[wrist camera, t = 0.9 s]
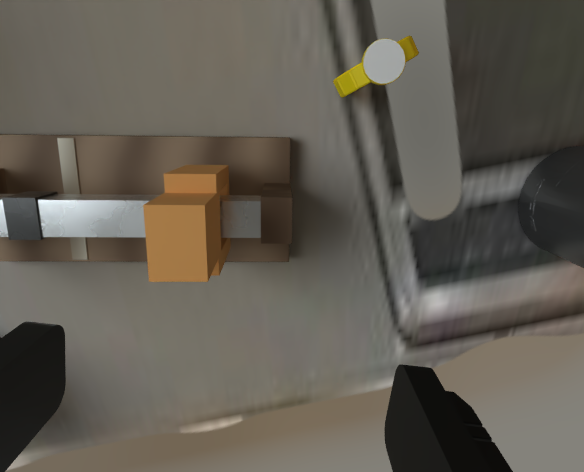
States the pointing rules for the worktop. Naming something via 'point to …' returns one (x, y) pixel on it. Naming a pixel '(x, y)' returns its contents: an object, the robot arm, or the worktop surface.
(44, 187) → the rig
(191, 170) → the collar
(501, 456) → the robot arm
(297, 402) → the worktop surface
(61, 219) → the grey square bar
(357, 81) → the watch
